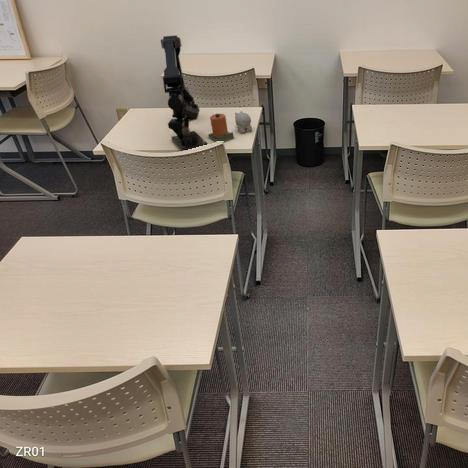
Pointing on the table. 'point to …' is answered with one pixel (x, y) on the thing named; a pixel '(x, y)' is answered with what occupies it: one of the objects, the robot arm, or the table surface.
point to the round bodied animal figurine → (243, 122)
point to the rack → (221, 137)
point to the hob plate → (192, 143)
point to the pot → (219, 125)
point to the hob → (178, 141)
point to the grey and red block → (186, 131)
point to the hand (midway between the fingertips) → (184, 135)
